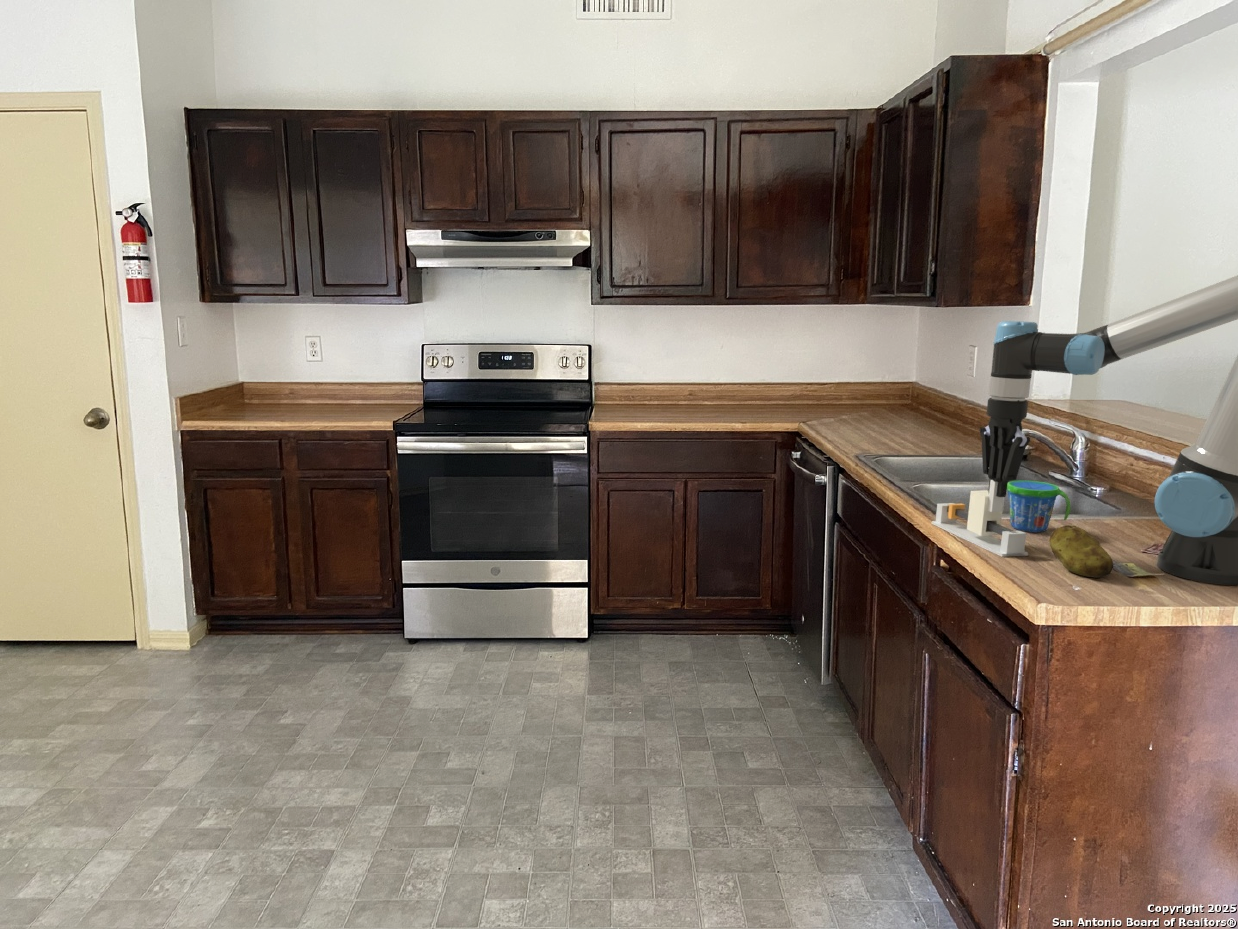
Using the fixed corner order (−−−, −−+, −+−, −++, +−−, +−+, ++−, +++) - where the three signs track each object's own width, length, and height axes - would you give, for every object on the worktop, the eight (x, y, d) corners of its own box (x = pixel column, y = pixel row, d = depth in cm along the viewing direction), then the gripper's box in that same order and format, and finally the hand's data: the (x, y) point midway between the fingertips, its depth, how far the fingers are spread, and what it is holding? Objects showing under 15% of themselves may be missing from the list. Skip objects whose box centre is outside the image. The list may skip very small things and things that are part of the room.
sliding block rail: (1027, 555, 174) (1031, 528, 173) (1001, 556, 172) (1005, 530, 171) (954, 522, 198) (957, 499, 196) (931, 523, 196) (933, 499, 195)
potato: (1070, 581, 159) (1076, 539, 157) (1040, 559, 171) (1045, 521, 170) (1116, 582, 158) (1122, 541, 157) (1082, 561, 171) (1088, 522, 169)
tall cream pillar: (999, 534, 181) (1004, 495, 179) (981, 535, 180) (985, 496, 178) (984, 528, 186) (989, 490, 184) (966, 529, 185) (970, 490, 183)
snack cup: (984, 526, 195) (989, 482, 193) (1001, 518, 203) (1006, 476, 201) (1057, 540, 185) (1063, 494, 183) (1072, 531, 192) (1078, 487, 190)
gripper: (1046, 402, 168) (1032, 518, 173) (1003, 394, 181) (990, 502, 186) (1013, 402, 167) (999, 519, 172) (972, 394, 179) (960, 503, 184)
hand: (995, 510), depth 179 cm, fingers closed
